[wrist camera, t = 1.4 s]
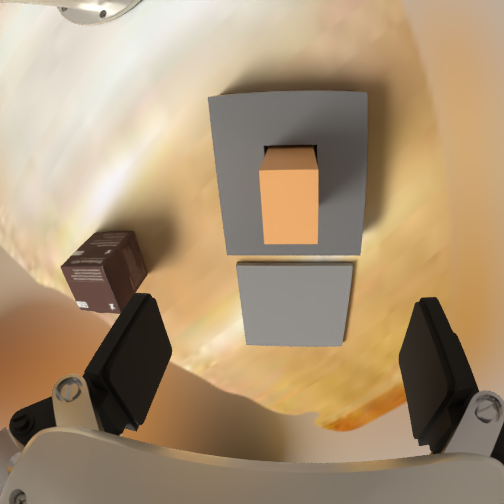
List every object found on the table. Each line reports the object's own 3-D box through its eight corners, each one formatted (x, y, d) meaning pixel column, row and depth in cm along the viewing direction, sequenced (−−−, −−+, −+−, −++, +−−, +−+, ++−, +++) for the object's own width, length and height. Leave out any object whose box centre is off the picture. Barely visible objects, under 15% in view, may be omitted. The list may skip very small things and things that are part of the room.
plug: (270, 142, 26) (258, 170, 18) (311, 141, 25) (318, 169, 18) (273, 195, 29) (264, 244, 21) (312, 195, 28) (317, 244, 20)
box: (135, 229, 33) (102, 266, 27) (149, 274, 36) (122, 315, 30) (93, 232, 34) (58, 265, 28) (108, 274, 37) (79, 311, 31)
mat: (237, 262, 33) (236, 265, 33) (352, 262, 32) (353, 265, 31) (247, 341, 39) (246, 344, 39) (341, 342, 38) (341, 346, 37)
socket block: (218, 95, 25) (208, 97, 22) (358, 91, 23) (367, 92, 20) (234, 237, 32) (227, 255, 29) (354, 236, 30) (360, 255, 27)
